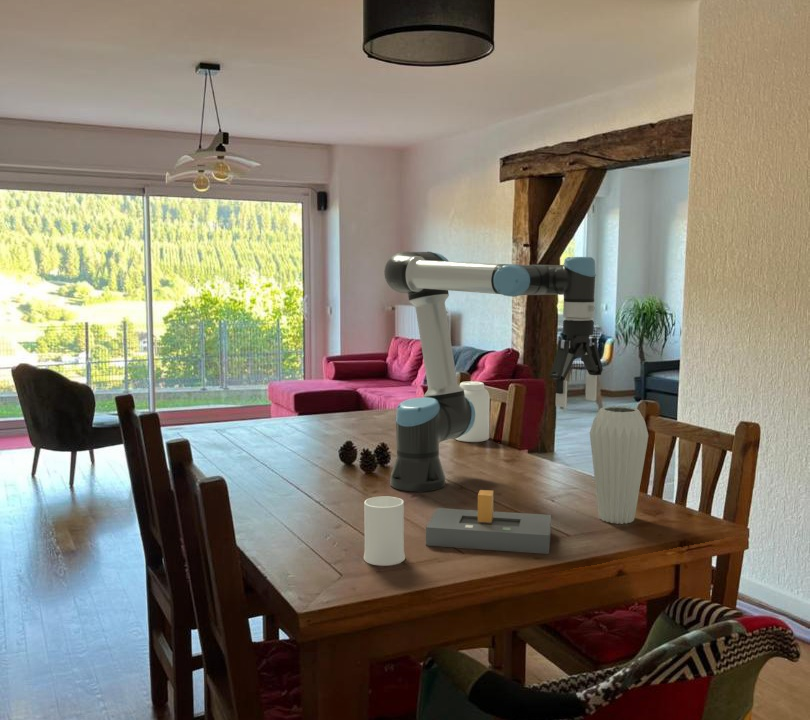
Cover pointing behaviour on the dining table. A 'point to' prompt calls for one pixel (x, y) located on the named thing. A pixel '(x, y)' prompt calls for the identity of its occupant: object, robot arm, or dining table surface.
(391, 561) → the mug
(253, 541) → the dining table surface
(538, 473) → the dining table surface
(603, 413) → the vase
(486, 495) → the toggle
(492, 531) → the panel
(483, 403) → the white plastic jar
